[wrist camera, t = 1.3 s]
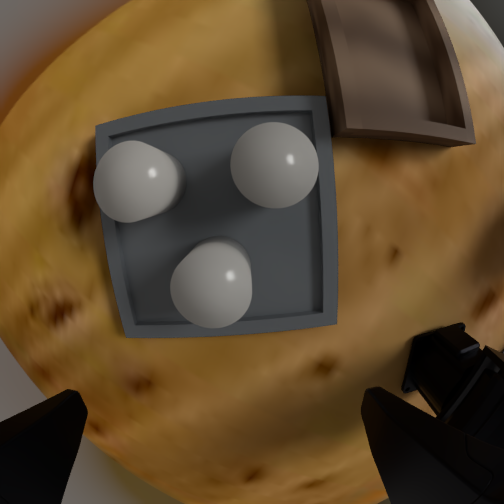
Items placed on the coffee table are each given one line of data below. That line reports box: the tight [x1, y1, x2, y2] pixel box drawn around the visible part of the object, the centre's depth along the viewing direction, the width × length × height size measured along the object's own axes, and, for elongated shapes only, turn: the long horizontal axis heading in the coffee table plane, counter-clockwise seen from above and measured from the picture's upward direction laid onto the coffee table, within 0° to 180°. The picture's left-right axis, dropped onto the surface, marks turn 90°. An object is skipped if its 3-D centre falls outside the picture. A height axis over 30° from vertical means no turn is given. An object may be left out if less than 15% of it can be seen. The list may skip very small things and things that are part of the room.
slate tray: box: [96, 96, 338, 338], centre depth 17 cm, size 15×15×1 cm
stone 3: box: [230, 122, 319, 208], centre depth 14 cm, size 4×4×4 cm
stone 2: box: [170, 236, 252, 328], centre depth 15 cm, size 4×4×4 cm
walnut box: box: [307, 0, 476, 147], centre depth 14 cm, size 15×11×3 cm
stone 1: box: [93, 141, 186, 223], centre depth 14 cm, size 4×4×4 cm
